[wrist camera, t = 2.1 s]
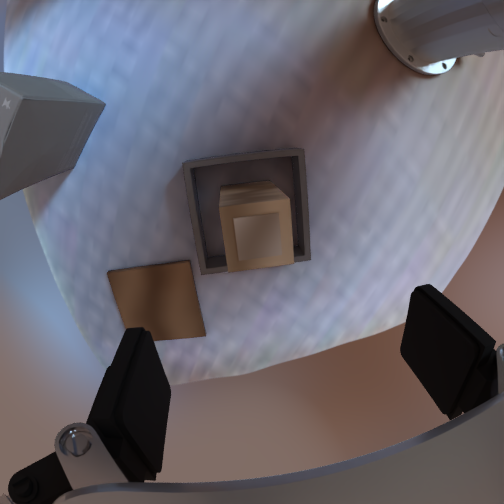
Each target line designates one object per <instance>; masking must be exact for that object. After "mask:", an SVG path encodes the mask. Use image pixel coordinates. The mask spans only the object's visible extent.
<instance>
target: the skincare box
mask: <svg viewBox="0 0 504 504" xmlns="http://www.w3.org/2000/svg"><path fill="white" fill-rule="evenodd" d="M105 105H106V104H105V103H104V102H102V101H101V100H99V99H97V98H95V97H93V96H92V95H90V94H88V93H86V92H84V91H82V90H81V89H79V88H77V87H75V86H73V85H71V84H69V83H67V82H64V81H59V80H54V79H48V78H42V77H36V76H29V75H22V74H14V73H5V72H0V200H1V199H3V198H5V197H7V196H9V195H11V194H13V193H15V192H17V191H19V190H21V189H24V188H26V187H28V186H30V185H33V184H35V183H37V182H40V181H42V180H45V179H47V178H49V177H52V176H54V175H57V174H59V173H62V172H64V171H67V170H70V169H72V168H74V167H75V165H76V162H77V160H78V158H79V156H80V154H81V152H82V149H83V147H84V145H85V143H86V141H87V139H88V137H89V135H90V133H91V131H92V129H93V128H94V126H95V124H96V122H97V120H98V118H99V116H100V114H101V113H102V111H103V109H104V107H105Z"/></svg>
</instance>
